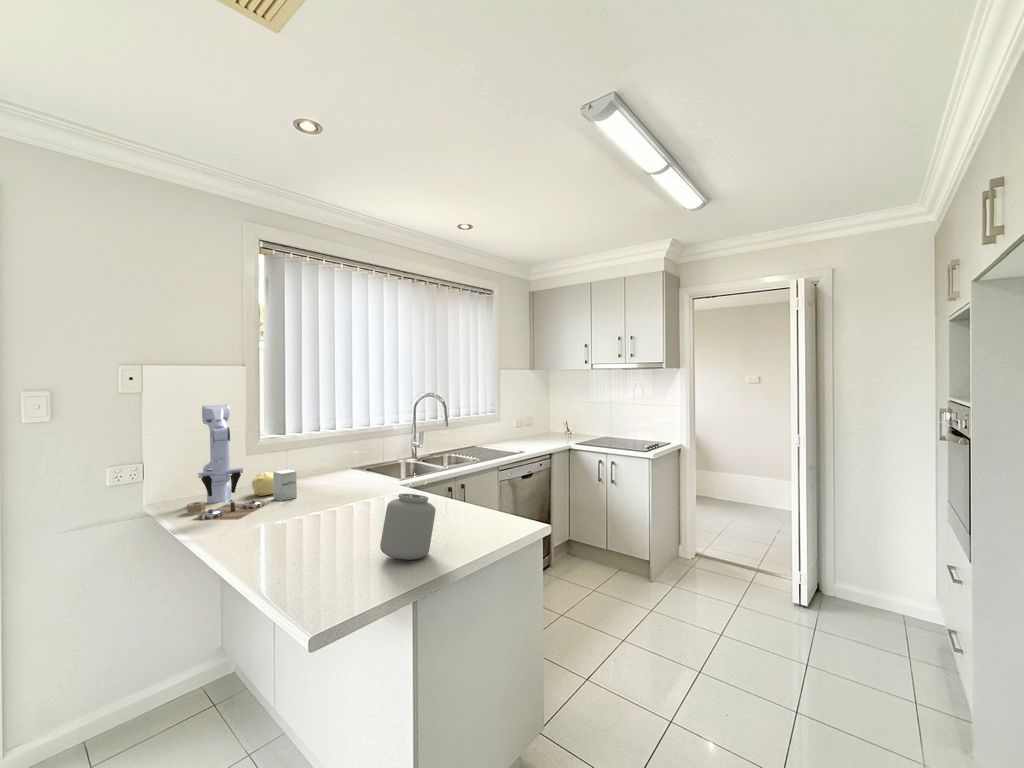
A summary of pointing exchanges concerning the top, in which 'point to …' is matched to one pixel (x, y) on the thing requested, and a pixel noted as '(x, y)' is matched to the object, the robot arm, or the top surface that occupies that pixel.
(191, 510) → the octagonal wooden tube
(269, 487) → the sculpture
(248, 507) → the gear
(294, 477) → the supplement box
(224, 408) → the robot arm
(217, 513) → the gear
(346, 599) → the top surface
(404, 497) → the jar
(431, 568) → the top surface
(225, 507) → the gear board
